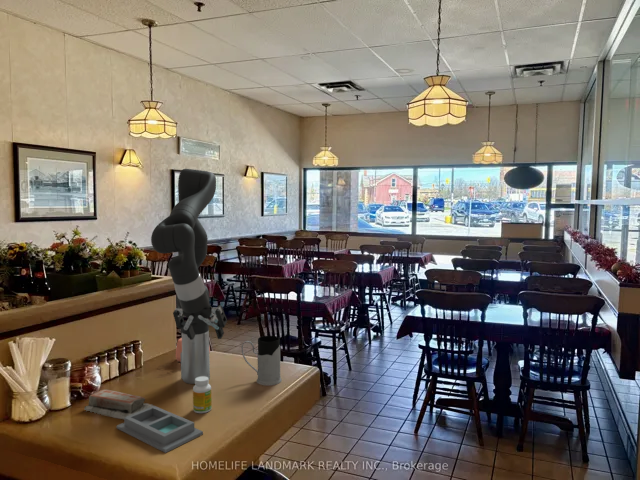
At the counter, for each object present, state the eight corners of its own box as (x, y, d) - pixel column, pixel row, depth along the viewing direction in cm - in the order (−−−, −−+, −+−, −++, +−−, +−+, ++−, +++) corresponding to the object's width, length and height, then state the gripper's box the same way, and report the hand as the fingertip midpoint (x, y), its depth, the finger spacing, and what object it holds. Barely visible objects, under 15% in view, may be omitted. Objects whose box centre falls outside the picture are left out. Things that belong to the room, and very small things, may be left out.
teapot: (215, 354, 201) (214, 329, 200) (196, 369, 183) (195, 342, 182) (188, 352, 202) (187, 327, 202) (167, 367, 185) (167, 340, 184)
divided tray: (116, 428, 137) (116, 417, 137) (153, 412, 146) (153, 402, 146) (165, 452, 124) (165, 440, 124) (202, 434, 133) (202, 422, 133)
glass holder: (278, 386, 167) (277, 343, 165) (238, 383, 169) (237, 340, 168) (284, 376, 175) (284, 335, 174) (246, 374, 178) (245, 333, 176)
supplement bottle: (207, 414, 145) (206, 382, 144) (190, 412, 146) (189, 381, 146) (214, 406, 151) (213, 376, 150) (198, 405, 152) (197, 374, 151)
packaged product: (82, 396, 148) (107, 385, 157) (82, 412, 148) (108, 399, 157) (129, 406, 141) (153, 393, 150) (130, 422, 141) (153, 408, 151)
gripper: (220, 282, 135) (234, 328, 142) (172, 284, 138) (188, 329, 145) (211, 298, 128) (226, 346, 136) (161, 300, 131) (178, 346, 139)
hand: (206, 337), depth 141 cm, fingers open, 8 cm apart
